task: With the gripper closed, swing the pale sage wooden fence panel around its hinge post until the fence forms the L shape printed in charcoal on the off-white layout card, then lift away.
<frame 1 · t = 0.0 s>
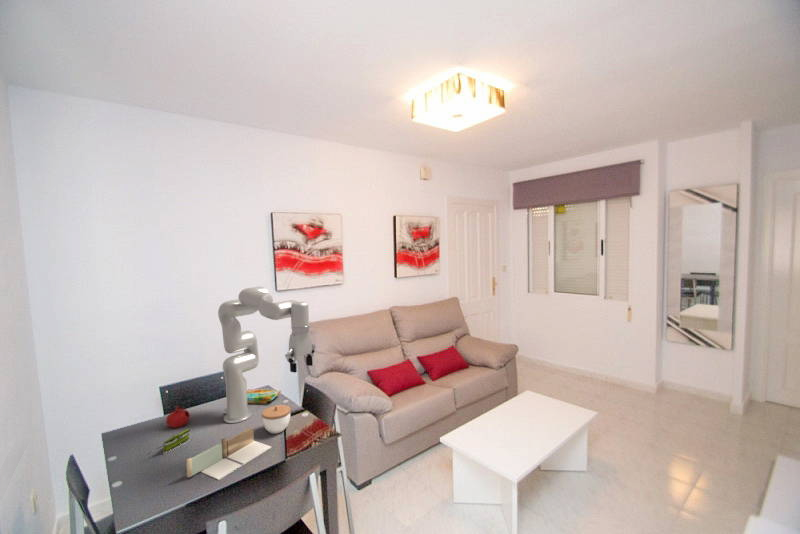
hand: (301, 368, 154), 31 cm above the table, tool pointing down, fingers open, 9 cm apart
red teapot: (178, 425, 171), on the table
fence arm: (204, 459, 134), point 4 cm above the table, hinge at 0.0°
layout card: (230, 456, 143), on the table
green slotted rack: (167, 450, 149), on the table
lidded bowl: (277, 430, 164), on the table
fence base: (224, 458, 141), resting on layout card
puzzle game: (259, 400, 199), on the table
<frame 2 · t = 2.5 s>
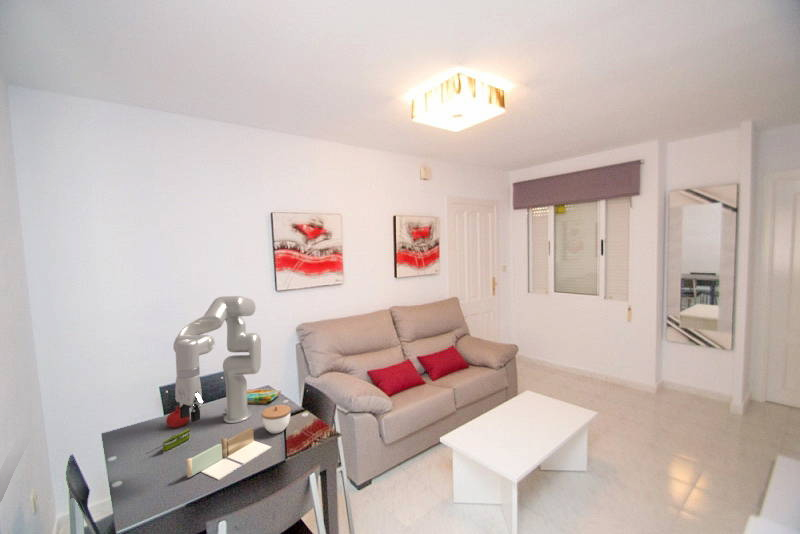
hand: (190, 418, 134), 20 cm above the table, tool pointing down, fingers open, 6 cm apart
nothing on the table moved.
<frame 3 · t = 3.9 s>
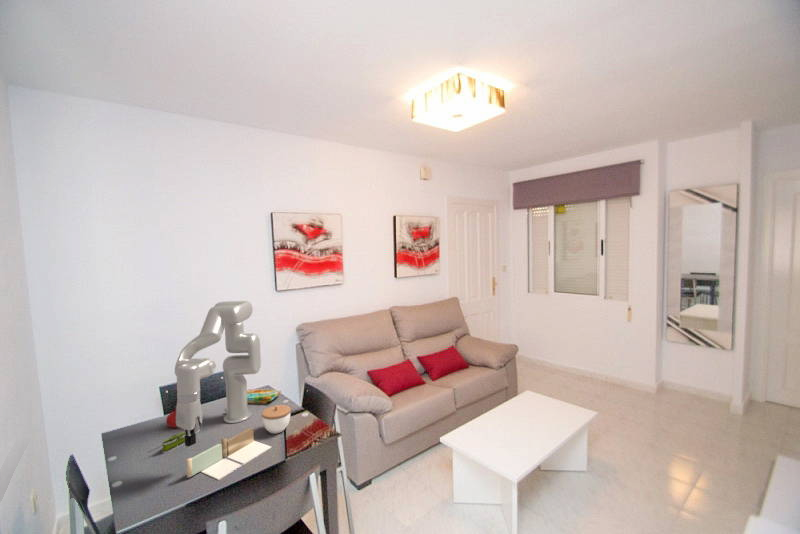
hand: (190, 444, 134), 10 cm above the table, tool pointing down, fingers closed
nothing on the table moved.
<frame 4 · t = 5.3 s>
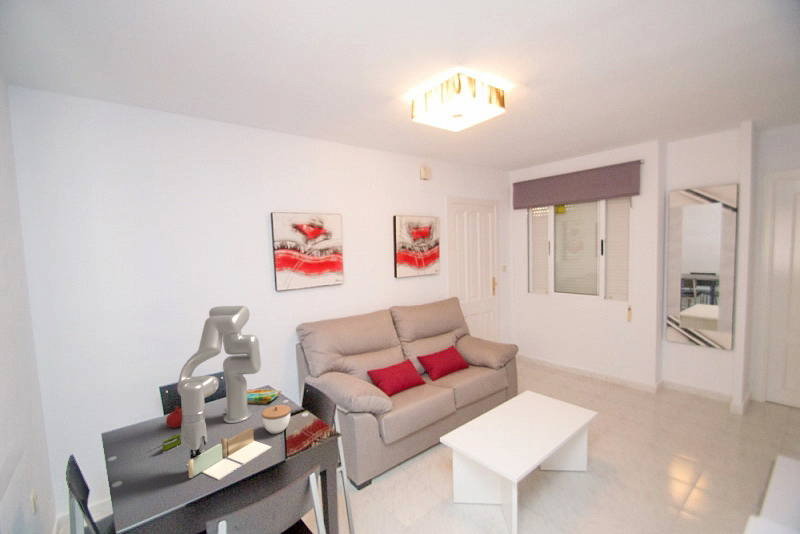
hand: (196, 463, 134), 3 cm above the table, tool pointing down, fingers closed
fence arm: (205, 459, 134), point 4 cm above the table, hinge at 3.8°, touching gripper
everything else where it was.
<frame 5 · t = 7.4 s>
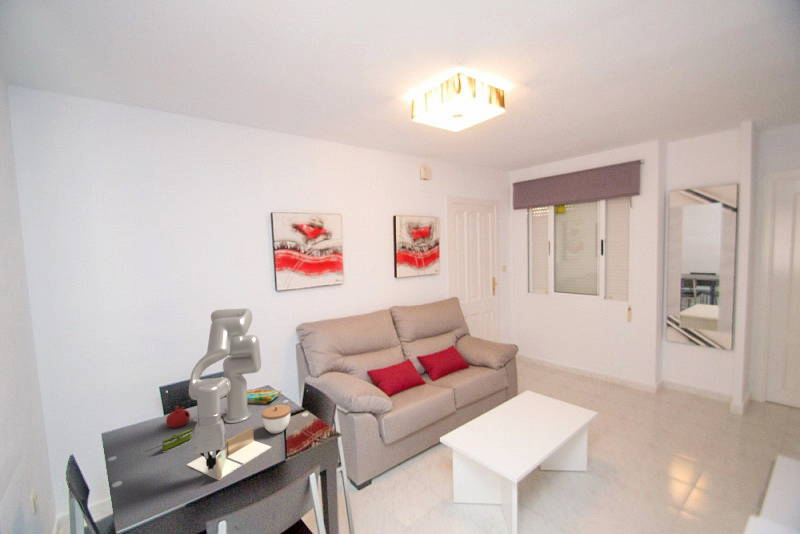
hand: (211, 467, 131), 3 cm above the table, tool pointing down, fingers closed
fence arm: (221, 459, 134), point 4 cm above the table, hinge at 48.2°, touching gripper
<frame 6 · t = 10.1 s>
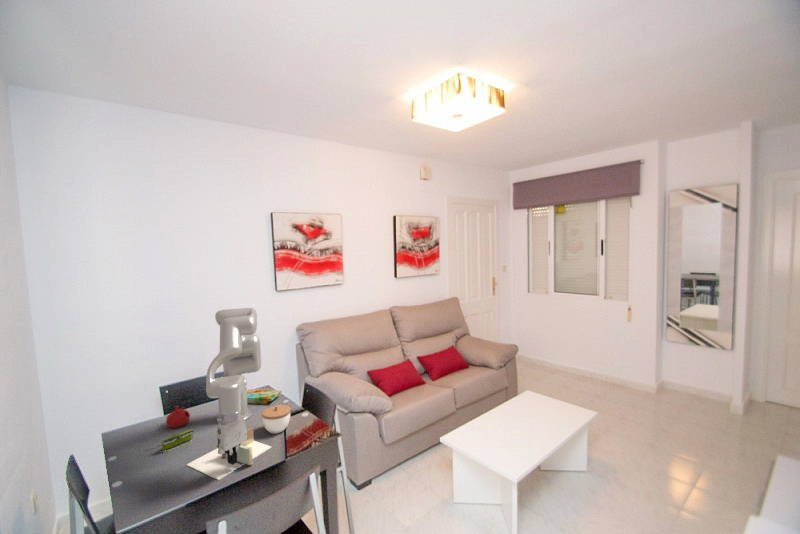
hand: (232, 462, 133), 3 cm above the table, tool pointing down, fingers closed
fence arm: (239, 452, 138), point 4 cm above the table, hinge at 95.5°
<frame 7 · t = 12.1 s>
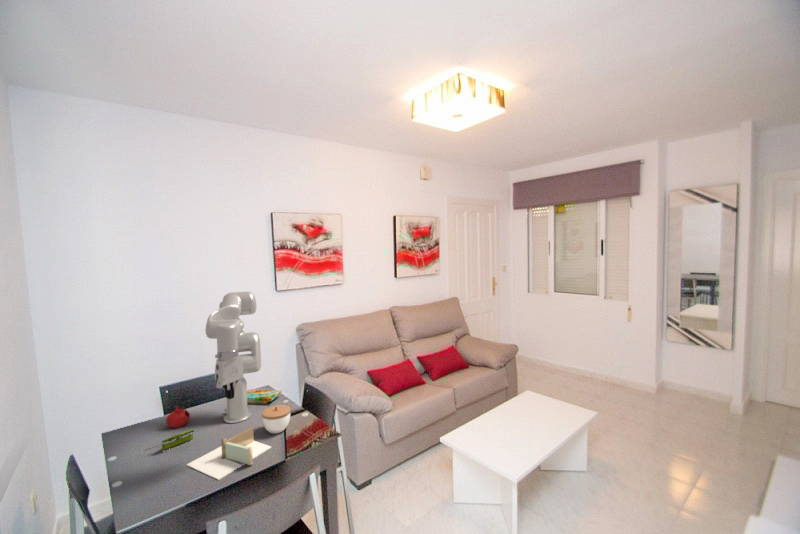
hand: (230, 397, 143), 24 cm above the table, tool pointing down, fingers closed
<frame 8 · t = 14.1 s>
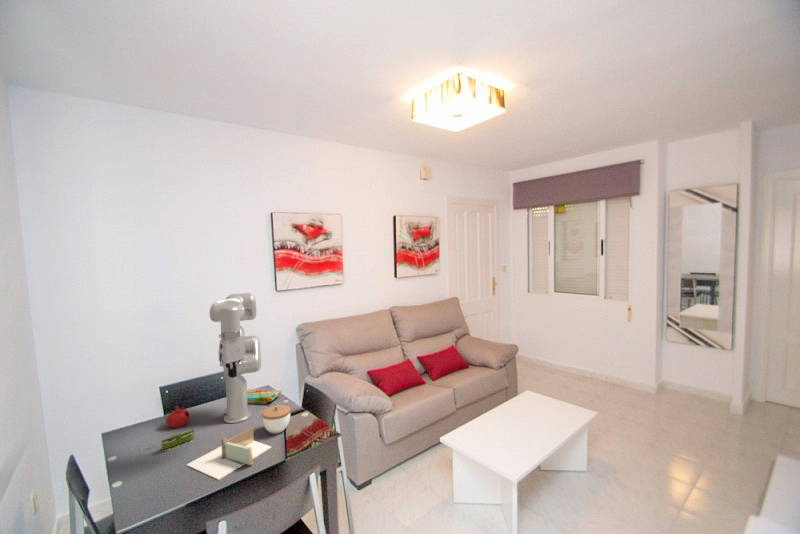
hand: (232, 376, 153), 29 cm above the table, tool pointing down, fingers closed
at the end: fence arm at +96° (first picture: +0°); green slotted rack moved 1.8 cm from its start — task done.
